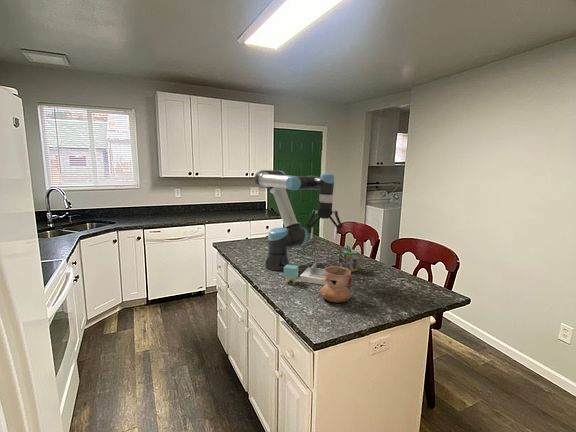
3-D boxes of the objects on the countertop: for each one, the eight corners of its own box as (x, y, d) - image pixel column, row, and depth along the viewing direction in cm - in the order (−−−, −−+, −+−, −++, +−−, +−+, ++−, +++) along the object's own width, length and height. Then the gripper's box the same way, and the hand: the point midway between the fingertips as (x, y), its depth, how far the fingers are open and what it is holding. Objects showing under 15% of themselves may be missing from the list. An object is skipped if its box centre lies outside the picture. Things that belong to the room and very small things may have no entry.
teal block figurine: (283, 282, 164) (283, 267, 163) (286, 279, 169) (287, 264, 168) (295, 284, 162) (295, 269, 161) (298, 281, 167) (298, 266, 165)
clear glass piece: (310, 274, 168) (310, 267, 168) (314, 270, 176) (314, 263, 175) (323, 276, 166) (323, 269, 165) (326, 271, 173) (327, 264, 173)
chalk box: (359, 271, 185) (360, 247, 182) (345, 272, 182) (346, 248, 180) (351, 266, 193) (353, 243, 191) (338, 267, 191) (339, 244, 188)
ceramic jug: (330, 308, 136) (332, 278, 133) (311, 295, 148) (313, 267, 146) (361, 301, 145) (363, 272, 142) (341, 290, 157) (343, 263, 155)
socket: (299, 281, 167) (299, 274, 166) (308, 271, 182) (308, 265, 181) (336, 287, 160) (336, 280, 159) (342, 276, 175) (342, 270, 174)
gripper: (304, 202, 166) (301, 240, 170) (349, 203, 168) (346, 241, 172) (302, 200, 174) (300, 236, 178) (346, 201, 175) (343, 237, 179)
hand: (323, 239), depth 175 cm, fingers open, 13 cm apart
